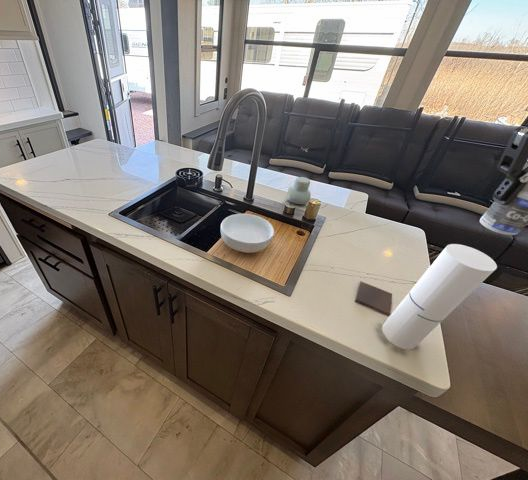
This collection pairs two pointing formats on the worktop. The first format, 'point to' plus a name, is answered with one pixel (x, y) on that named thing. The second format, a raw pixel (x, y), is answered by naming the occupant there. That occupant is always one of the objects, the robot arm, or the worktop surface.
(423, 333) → the cylindrical container
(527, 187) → the pill bottle
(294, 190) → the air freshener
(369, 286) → the plate
